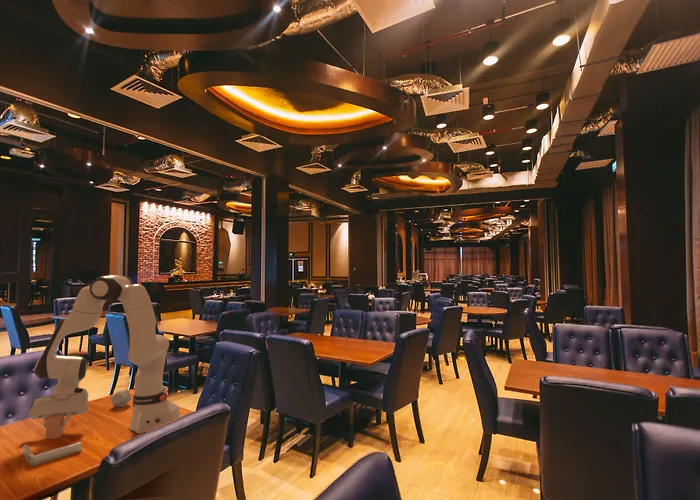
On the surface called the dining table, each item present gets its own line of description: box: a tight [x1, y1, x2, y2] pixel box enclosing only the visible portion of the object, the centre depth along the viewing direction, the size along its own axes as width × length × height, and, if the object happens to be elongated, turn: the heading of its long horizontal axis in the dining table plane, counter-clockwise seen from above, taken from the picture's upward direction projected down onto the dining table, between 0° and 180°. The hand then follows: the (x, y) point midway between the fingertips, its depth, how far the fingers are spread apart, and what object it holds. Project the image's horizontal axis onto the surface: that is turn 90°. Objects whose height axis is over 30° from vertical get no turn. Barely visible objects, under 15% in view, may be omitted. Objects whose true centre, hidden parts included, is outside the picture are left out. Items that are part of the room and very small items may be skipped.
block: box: [45, 414, 65, 440], centre depth 155 cm, size 4×4×8 cm
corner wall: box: [22, 441, 82, 467], centre depth 141 cm, size 14×15×3 cm
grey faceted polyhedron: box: [109, 389, 133, 408], centre depth 189 cm, size 8×9×10 cm
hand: (54, 426), depth 154 cm, fingers closed on block, 4 cm apart
